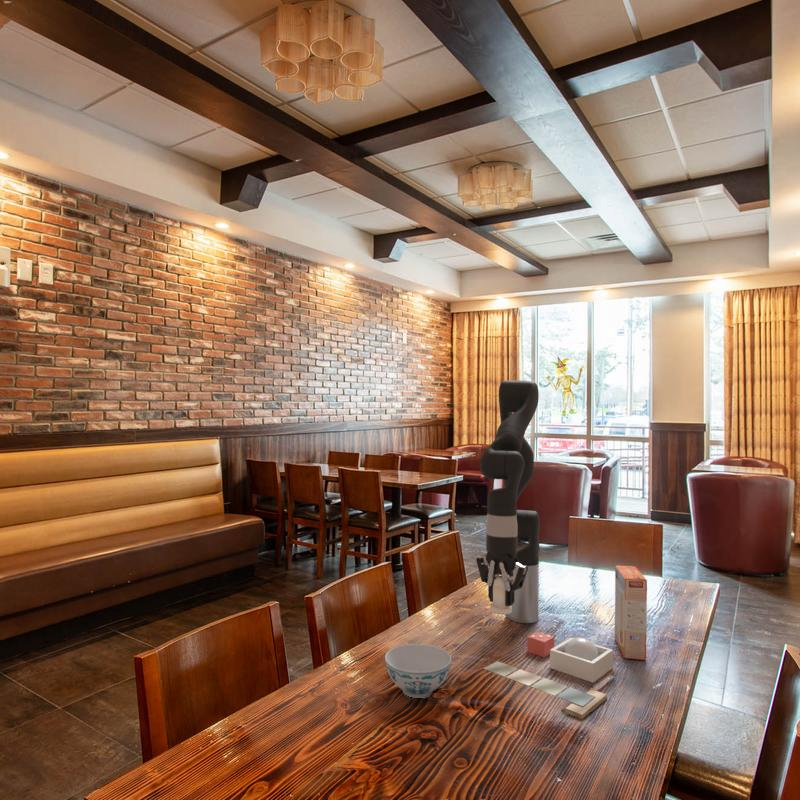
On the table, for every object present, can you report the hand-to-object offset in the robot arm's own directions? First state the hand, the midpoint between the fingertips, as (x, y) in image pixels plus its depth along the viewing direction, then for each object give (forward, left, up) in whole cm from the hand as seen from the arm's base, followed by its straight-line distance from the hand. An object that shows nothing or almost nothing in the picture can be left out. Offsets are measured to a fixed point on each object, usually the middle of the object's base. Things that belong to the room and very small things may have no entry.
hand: (501, 603), depth 139 cm
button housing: (+14, +14, -17) cm, 26 cm away
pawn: (0, 0, -2) cm, 2 cm away
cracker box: (+17, +37, -17) cm, 44 cm away
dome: (+14, +14, -17) cm, 26 cm away
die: (+2, +16, -17) cm, 23 cm away
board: (+10, 0, -17) cm, 20 cm away
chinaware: (-8, -21, -17) cm, 28 cm away
